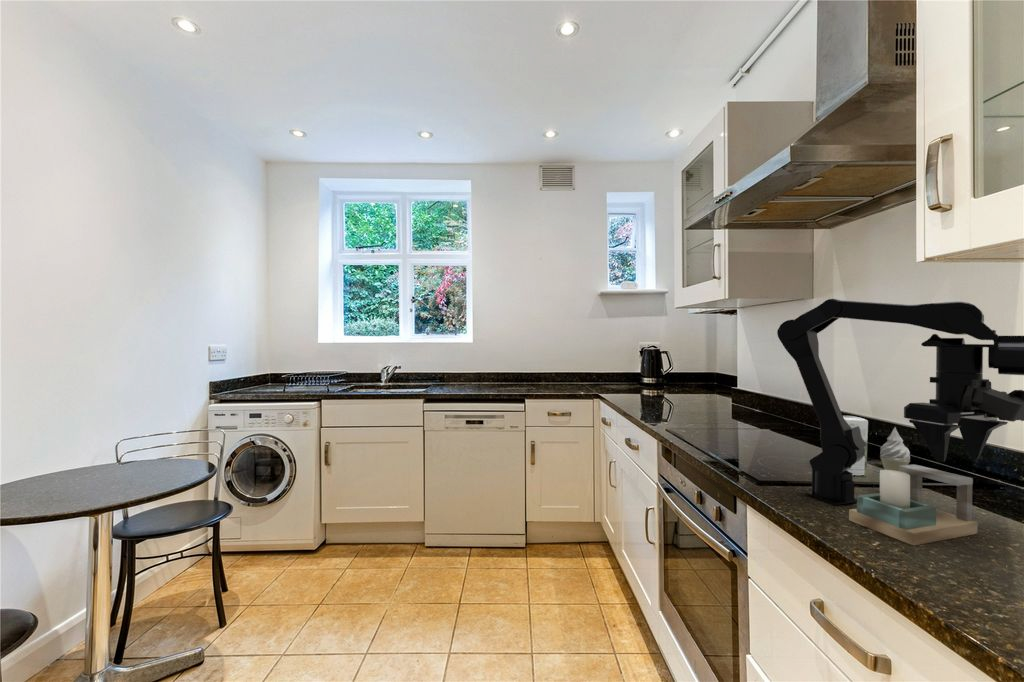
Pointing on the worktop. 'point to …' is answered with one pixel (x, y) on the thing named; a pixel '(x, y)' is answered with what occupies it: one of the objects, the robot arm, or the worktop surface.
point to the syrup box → (853, 421)
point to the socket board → (919, 511)
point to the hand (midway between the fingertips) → (957, 459)
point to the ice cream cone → (894, 452)
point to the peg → (895, 488)
